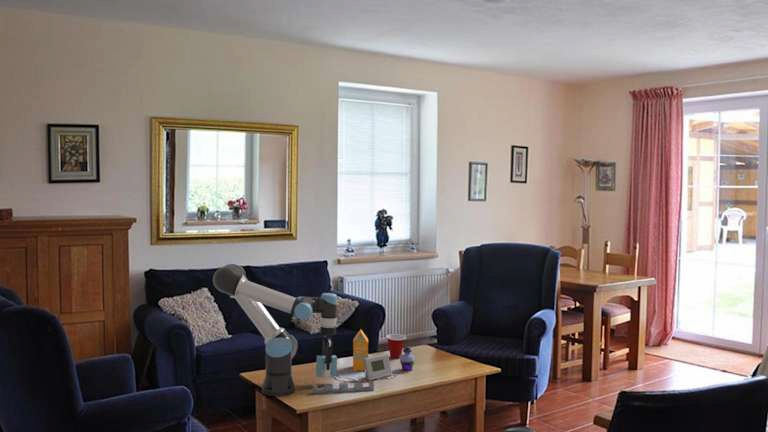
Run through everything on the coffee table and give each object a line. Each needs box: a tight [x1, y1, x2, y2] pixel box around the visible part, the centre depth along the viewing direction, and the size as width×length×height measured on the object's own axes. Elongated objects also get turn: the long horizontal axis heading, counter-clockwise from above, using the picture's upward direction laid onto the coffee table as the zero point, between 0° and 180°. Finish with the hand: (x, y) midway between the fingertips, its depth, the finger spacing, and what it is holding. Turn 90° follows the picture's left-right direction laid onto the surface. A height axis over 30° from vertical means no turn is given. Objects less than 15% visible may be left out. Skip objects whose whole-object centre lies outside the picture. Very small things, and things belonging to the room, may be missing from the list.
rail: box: [312, 380, 375, 395], centre depth 310 cm, size 28×3×4 cm, turn 104°
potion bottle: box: [399, 345, 416, 372], centre depth 348 cm, size 9×9×12 cm
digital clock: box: [363, 353, 393, 382], centre depth 334 cm, size 16×9×11 cm, turn 122°
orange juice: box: [352, 328, 369, 371], centre depth 349 cm, size 8×9×20 cm
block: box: [315, 354, 338, 378], centre depth 321 cm, size 9×4×9 cm, turn 105°
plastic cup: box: [386, 333, 407, 360], centre depth 372 cm, size 11×11×12 cm
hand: (326, 374), depth 322 cm, fingers closed on block, 4 cm apart
